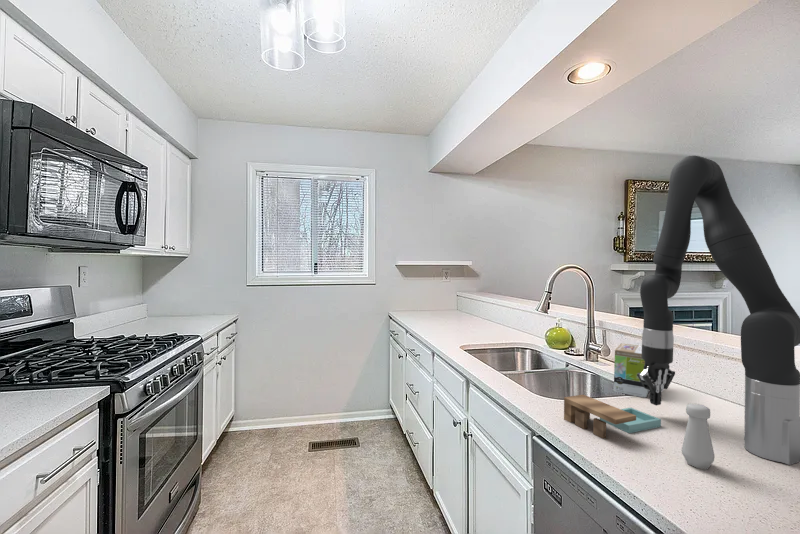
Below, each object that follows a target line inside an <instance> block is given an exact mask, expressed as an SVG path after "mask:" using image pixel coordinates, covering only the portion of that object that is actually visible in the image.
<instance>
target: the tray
mask: <svg viewBox="0 0 800 534" xmlns="http://www.w3.org/2000/svg"><path fill="white" fill-rule="evenodd" d="M621 410H623V411H626V412H629V413H631V414H634V415H636V420H635V421H630V422H626V423H621V424H613V423H611V422H609V421H606V420H604V419H602V418H600V417H599V419H600V420H602V421H604V422H606V425H609V426H611V427H613V428H616V429H618V430H621V431H622V432H624V433H628V434H632V433H636V432H641V431H646V430H650V429H651V430H652V429H656V428H660V427H662V418H658V417H656V416H654V415H651V414H650V413H649V414H648V413H645V412H643V411H640V410H638V409H636V408H633V407H625V408H621Z"/></svg>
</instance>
